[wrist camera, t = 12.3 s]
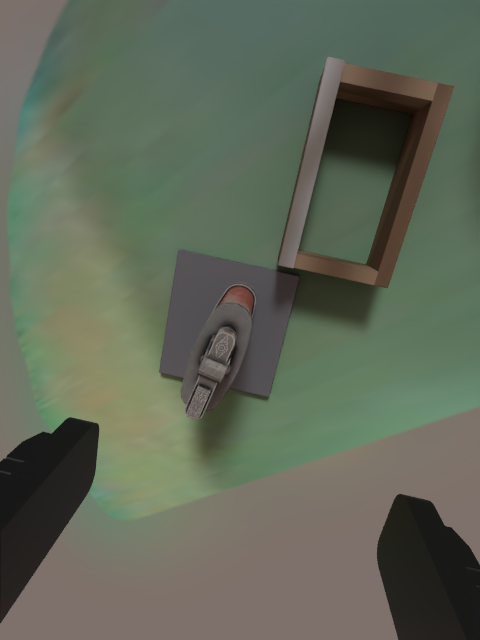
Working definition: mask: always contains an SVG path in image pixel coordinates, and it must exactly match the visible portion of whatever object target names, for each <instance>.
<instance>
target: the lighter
mask: <svg viewBox="0 0 480 640" xmlns="http://www.w3.org/2000/svg"><path fill="white" fill-rule="evenodd" d="M255 304H256V293H255V291H254V289H253V288H252V287H251V286H249V285H248V284H246V283H242V282H235V283H233V284H231V285H230V286H229V287H228V288H227V289H226V291H225V292H224V294H223V295H222V297H221V298H220V299H219V301H218V302H217V304H216V306H215V308H214V310H213V312H212V314H211V316H210V317H209V318H208V320H207V322H206V324H205V325H204V327H203V328H202V330H201V332H200V334H199V336H198V338H197V340H196V342H195V344H194V346H193V348H192V350H191V353H190V356H189V359H188V362H187V365H186V368H185V372H184V377H183V383H182V388H181V398H182V400H183V402H184V403H185V404H186V408H185V414H186V415H187V416H188V417H190V418H192V419H195V420H199V419H200V418H202V416H203V414H204V412H207V411H210V410H212V409H213V408H214V407H216V405H217V404H218V403H219V401H220V400H221V399H222V397H223V396H224V395H225V393H226V392H227V391H228V389H229V387H230V385H231V384H232V382H233V380H234V378H235V376H236V375H237V373H238V371H239V368H240V366H241V363H242V360H243V358H244V355H245V352H246V350H247V345H248V341H249V337H250V332H251V328H252V317H253V313H254V309H255Z"/></svg>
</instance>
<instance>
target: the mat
mask: <svg viewBox="0 0 480 640" xmlns="http://www.w3.org/2000/svg"><path fill="white" fill-rule="evenodd" d="M298 281H299V276H298V275H294V274H289V273H285V272H280V271H276V270H271V269H266V268H262V267H257V266H253V265H248V264H244V263H239V262H234V261H230V260H225V259H221V258H216V257H212V256H207V255H203V254H198V253H193V252H189V251H184V250H178V255H177V261H176V268H175V274H174V280H173V287H172V293H171V300H170V306H169V312H168V319H167V325H166V332H165V338H164V344H163V351H162V357H161V364H160V370H159V372H160V373H164V374H169V375H173V376H178V377H182V378H183V377H184V372H185V368H186V365H187V362H188V359H189V356H190V353H191V350H192V348H193V346H194V344H195V342H196V340H197V338H198V336H199V334H200V332H201V330H202V328H203V327H204V325H205V324H206V322H207V320H208V318H209V317H210V316H211V314H212V312H213V310H214V308H215V306H216V304H217V302H218V301H219V299H220V298H221V297H222V295H223V294H224V292H225V291H226V289H227V288H228V287H229V286H230V285H231V284H233V283H235V282H242V283H246V284H248V285H249V286H251V287H252V288H253V289H254V291H255V293H256V304H255V309H254V313H253V317H252V328H251V332H250V337H249V341H248V345H247V350H246V352H245V355H244V358H243V360H242V363H241V366H240V368H239V371H238V373H237V375H236V376H235V378H234V380H233V382H232V384H231V385H230V387H229V388H231V389H235V390H240V391H244V392H249V393H253V394H257V395H262V396H266V397H269V394H270V390H271V387H272V383H273V379H274V375H275V371H276V367H277V363H278V359H279V355H280V351H281V347H282V344H283V340H284V336H285V332H286V328H287V324H288V320H289V316H290V312H291V308H292V304H293V301H294V297H295V293H296V289H297V285H298Z"/></svg>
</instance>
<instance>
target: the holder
mask: <svg viewBox="0 0 480 640" xmlns="http://www.w3.org/2000/svg"><path fill="white" fill-rule="evenodd" d="M344 63H345V60H341V59H336V58H332V57H327V60H326V64H325V67H324V70H323V73H322V75H321V78H320V82H319V86H318V90H317V95H316V99H315V103H314V107H313V112H312V116H311V120H310V124H309V129H308V133H307V137H306V141H305V146H304V150H303V154H302V158H301V163H300V167H299V171H298V175H297V180H296V184H295V188H294V192H293V197H292V201H291V205H290V209H289V213H288V218H287V222H286V226H285V230H284V235H283V239H282V243H281V247H280V252H279V256H278V265H279V266H284V267H288V268H297V269H302V270H307V271H311V272H316V273H320V274H325V275H329V276H334V277H339V278H343V279H348V280H352V281H357V282H361V283H366V284H371V285H375V286H380V287H384V288H388V286H389V283H390V280H391V277H392V274H393V271H394V268H395V264H396V261H397V258H398V255H399V252H400V249H401V246H402V243H403V240H404V237H405V234H406V231H407V228H408V225H409V222H410V219H411V216H412V213H413V210H414V207H415V204H416V201H417V198H418V195H419V192H420V189H421V185H422V182H423V179H424V176H425V173H426V170H427V167H428V164H429V161H430V158H431V155H432V152H433V149H434V146H435V143H436V140H437V137H438V134H439V131H440V128H441V125H442V122H443V119H444V116H445V113H446V109H447V106H448V103H449V100H450V97H451V94H452V91H453V88H454V86H450V85H445V84H440V83H436V82H431V81H426V80H421V79H416V78H412V77H407V76H402V75H397V74H392V73H388V72H383V71H378V70H373V69H368V68H364V67H359V66H354V65H349V64H344ZM336 98H337V99H342V100H347V101H351V102H356V103H361V104H366V105H370V106H375V107H380V108H385V109H390V110H394V111H399V112H404V113H409V114H412V118H411V121H410V124H409V128H408V131H407V134H406V137H405V141H404V144H403V147H402V150H401V154H400V157H399V160H398V163H397V167H396V170H395V173H394V177H393V180H392V183H391V186H390V190H389V193H388V196H387V199H386V203H385V206H384V209H383V212H382V216H381V219H380V222H379V226H378V229H377V232H376V235H375V239H374V242H373V245H372V248H371V252H370V255H369V258H368V261H367V265H365V264H360V263H356V262H351V261H347V260H342V259H338V258H333V257H328V256H324V255H319V254H315V253H310V252H305V251H301V250H298V248H299V244H300V240H301V236H302V232H303V228H304V224H305V220H306V216H307V212H308V208H309V204H310V200H311V196H312V192H313V188H314V184H315V180H316V176H317V172H318V168H319V164H320V160H321V156H322V152H323V148H324V144H325V140H326V136H327V132H328V128H329V124H330V120H331V116H332V112H333V107H334V103H335V99H336Z"/></svg>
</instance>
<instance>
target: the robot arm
mask: <svg viewBox="0 0 480 640" xmlns="http://www.w3.org/2000/svg"><path fill="white" fill-rule="evenodd" d="M98 438H99V425H98V424H97V423H93V422H89V421H84V420H80V419H76V418H71V417H70V418H67V419H66V420H65V421H64V422H63V423H62V424H61V425H60V426H59V427H58V428H57V429H56V430H55V431H54V432H53V433H52V434H50V433H46V432H42V433H40V434H37V435H36V436H33V437H32V438H29V439H27V440H25V441H23V442H22V443H21V444H20V445H18V446H17V447H16V448H15V449H14V450H13V451H12V452H11V453H10V454H8V455H7V458H6V459H3V460H2V461H1V462H0V623H1V622H2V620H3V619H4V617H5V616H6V614H7V613H8V611H9V610H10V608H11V607H12V605H13V604H14V603H15V601H16V599H17V598H18V596H19V595H20V594H21V592H22V590H23V589H24V588H25V586H26V585H27V583H28V582H29V580H30V579H31V577H32V576H33V574H34V573H35V571H36V570H37V568H38V567H39V565H40V564H41V562H42V561H43V559H44V558H45V556H46V555H47V553H48V552H49V550H50V549H51V547H52V546H53V544H54V543H55V541H56V540H57V539H58V537H59V536H60V534H61V533H62V531H63V530H64V528H65V527H66V525H67V524H68V522H69V520H70V519H71V518H72V516H73V515H74V513H75V512H76V510H77V509H78V507H79V506H80V504H81V503H82V501H83V500H84V498H85V497H86V495H87V493H88V492H89V490H90V487H91V485H92V482H93V479H94V475H95V470H96V459H97V449H98ZM377 561H378V567H379V570H380V574H381V578H382V581H383V585H384V589H385V592H386V596H387V599H388V603H389V606H390V611H391V614H392V617H393V621H394V625H395V629H396V632H397V636H398V640H480V565H479V563H478V561H477V559H476V558H475V556H474V554H473V552H472V550H471V549H470V547H469V546H468V545H467V544H466V543H465V542H464V541H463V540H462V539H461V537H460V536H459V535H458V534H457V533H456V532H455V531H454V530H453V529H452V528H451V527H446V526H445V525H444V524H443V522H442V520H441V518H440V516H439V514H438V512H437V510H436V508H435V507H434V505H433V503H432V502H431V501H428V500H424V499H420V498H416V497H411V496H407V495H403V494H399V495H397V496H396V498H395V499H394V502H393V504H392V507H391V509H390V512H389V514H388V517H387V520H386V522H385V525H384V527H383V530H382V532H381V535H380V538H379V541H378V547H377Z"/></svg>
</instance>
